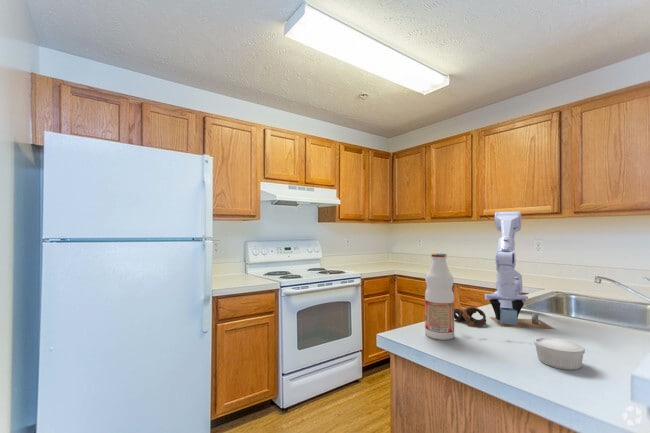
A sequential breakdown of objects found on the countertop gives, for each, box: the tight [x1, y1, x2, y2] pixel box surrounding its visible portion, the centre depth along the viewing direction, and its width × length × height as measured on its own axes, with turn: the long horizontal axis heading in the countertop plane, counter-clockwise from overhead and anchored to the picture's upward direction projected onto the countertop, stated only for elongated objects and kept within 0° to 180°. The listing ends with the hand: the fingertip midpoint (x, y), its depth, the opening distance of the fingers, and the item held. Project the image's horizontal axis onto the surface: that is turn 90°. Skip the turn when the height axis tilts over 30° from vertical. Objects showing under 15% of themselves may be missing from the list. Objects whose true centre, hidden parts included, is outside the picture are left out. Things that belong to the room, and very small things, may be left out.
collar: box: [496, 307, 517, 325], centre depth 120 cm, size 5×5×5 cm
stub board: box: [489, 312, 556, 330], centre depth 119 cm, size 18×12×5 cm, turn 81°
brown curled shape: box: [454, 306, 487, 328], centre depth 119 cm, size 12×10×8 cm
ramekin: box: [534, 337, 586, 371], centre depth 88 cm, size 11×11×5 cm
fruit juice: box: [424, 252, 455, 341], centre depth 109 cm, size 9×9×28 cm
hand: (506, 319), depth 120 cm, fingers closed on collar, 5 cm apart
